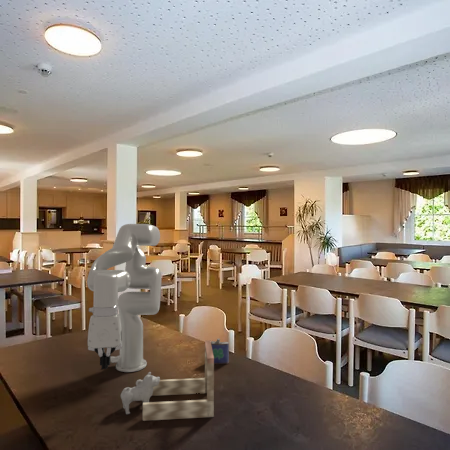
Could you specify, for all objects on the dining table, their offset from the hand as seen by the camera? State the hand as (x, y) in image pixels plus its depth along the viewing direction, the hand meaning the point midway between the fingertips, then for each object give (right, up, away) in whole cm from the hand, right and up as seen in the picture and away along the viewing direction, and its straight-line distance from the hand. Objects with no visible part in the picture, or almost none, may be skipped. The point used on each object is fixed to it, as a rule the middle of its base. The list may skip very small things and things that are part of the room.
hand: (105, 367), depth 113 cm
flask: (+36, -14, +38) cm, 54 cm away
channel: (+24, -14, +3) cm, 28 cm away
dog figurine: (+11, -14, +2) cm, 18 cm away
